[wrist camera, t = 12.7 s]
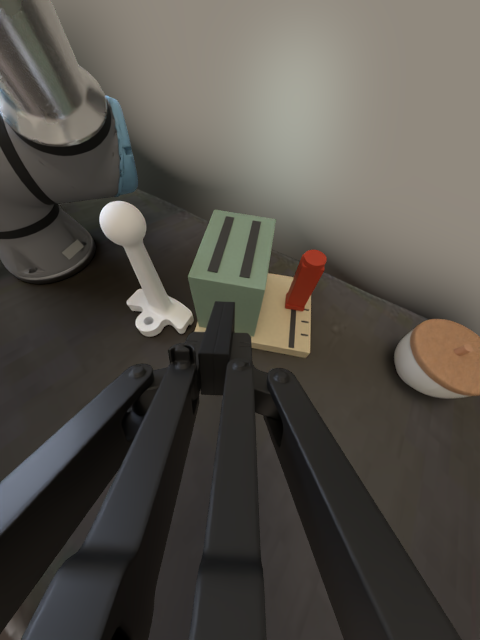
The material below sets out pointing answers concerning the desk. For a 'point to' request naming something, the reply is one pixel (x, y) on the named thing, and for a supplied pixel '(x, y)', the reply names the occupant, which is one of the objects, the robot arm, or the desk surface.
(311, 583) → the desk surface
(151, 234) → the desk surface
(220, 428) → the robot arm
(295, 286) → the slider
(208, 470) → the desk surface
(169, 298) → the joystick
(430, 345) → the trinket box
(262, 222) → the toaster
